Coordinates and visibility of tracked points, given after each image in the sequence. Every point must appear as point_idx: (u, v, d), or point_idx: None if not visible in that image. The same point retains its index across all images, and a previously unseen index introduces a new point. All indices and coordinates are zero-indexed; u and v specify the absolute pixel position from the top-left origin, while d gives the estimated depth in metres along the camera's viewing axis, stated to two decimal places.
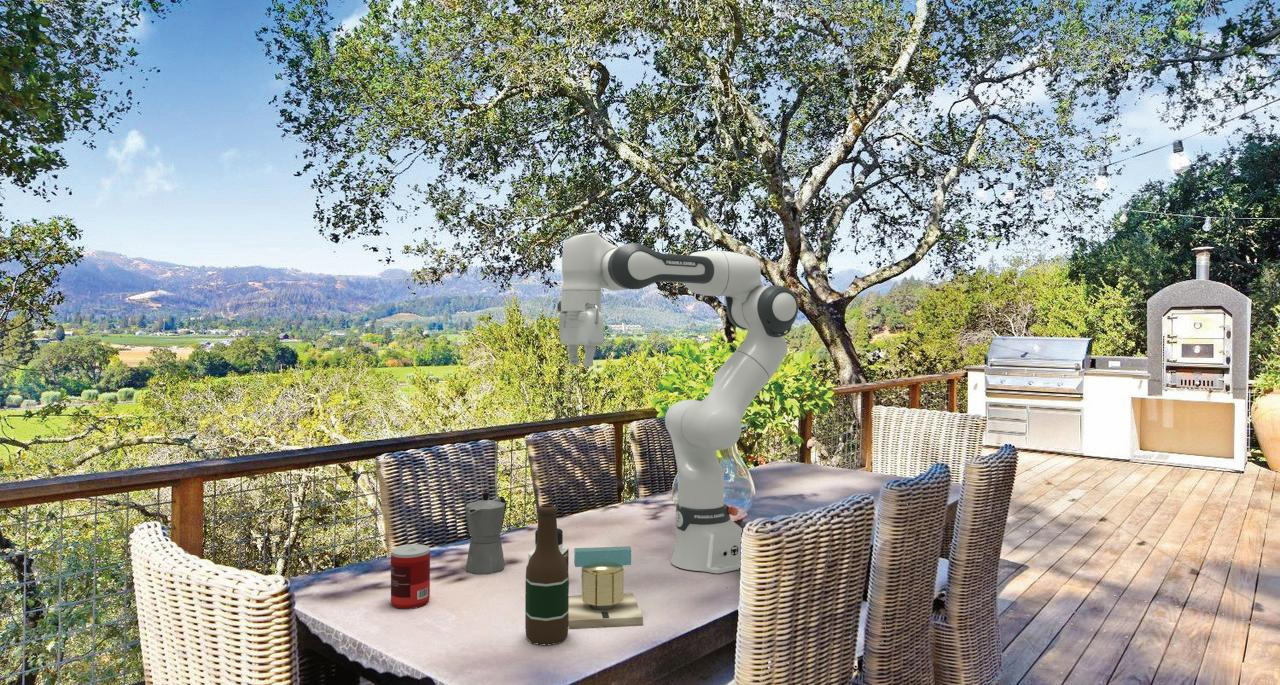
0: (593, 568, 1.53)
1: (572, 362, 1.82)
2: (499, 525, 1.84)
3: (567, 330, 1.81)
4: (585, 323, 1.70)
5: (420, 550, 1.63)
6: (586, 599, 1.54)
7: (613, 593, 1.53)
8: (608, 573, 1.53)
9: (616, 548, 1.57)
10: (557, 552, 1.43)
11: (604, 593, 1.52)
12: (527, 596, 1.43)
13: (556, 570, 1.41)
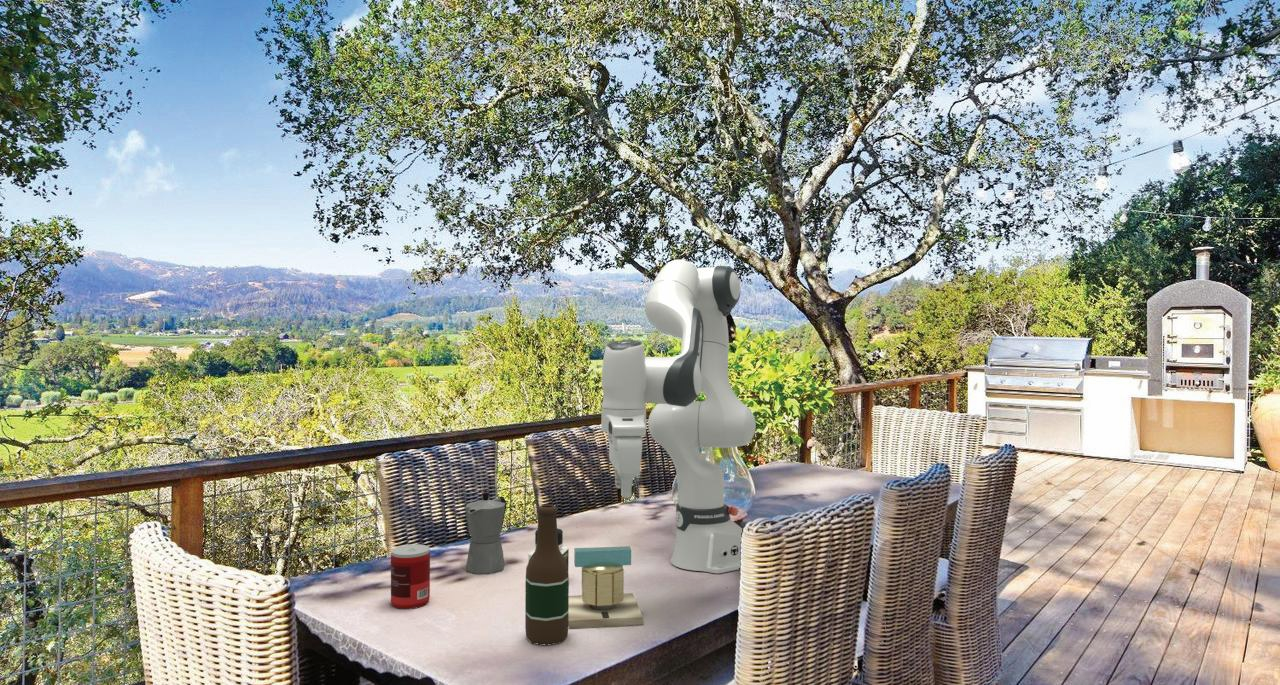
0: (593, 568, 1.53)
1: None
2: (499, 525, 1.84)
3: None
4: None
5: (420, 550, 1.63)
6: (586, 599, 1.54)
7: (613, 593, 1.53)
8: (608, 573, 1.53)
9: (616, 548, 1.57)
10: (557, 552, 1.43)
11: (604, 593, 1.52)
12: (527, 596, 1.43)
13: (556, 570, 1.41)
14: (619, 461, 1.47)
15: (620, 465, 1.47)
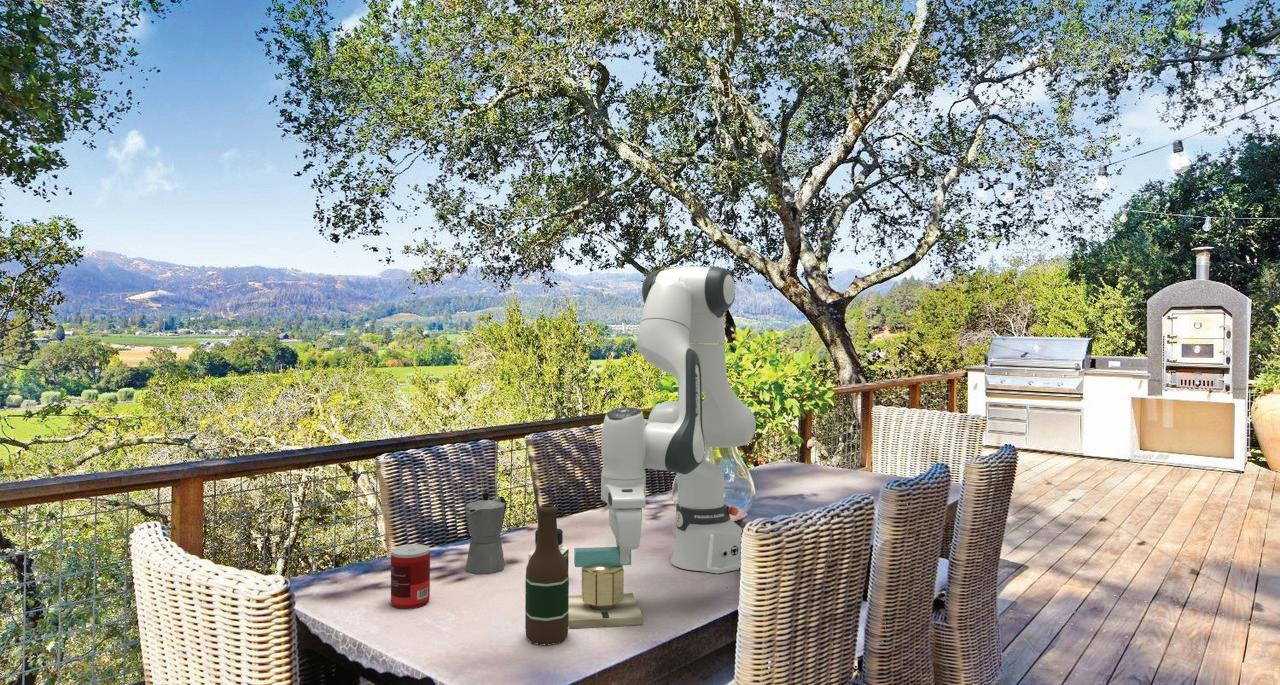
0: (593, 568, 1.53)
1: None
2: (499, 525, 1.84)
3: None
4: None
5: (420, 550, 1.63)
6: (586, 599, 1.54)
7: (613, 593, 1.53)
8: (608, 573, 1.53)
9: (616, 548, 1.57)
10: (557, 552, 1.43)
11: (604, 593, 1.52)
12: (527, 596, 1.43)
13: (556, 570, 1.41)
14: (619, 534, 1.47)
15: (620, 538, 1.47)
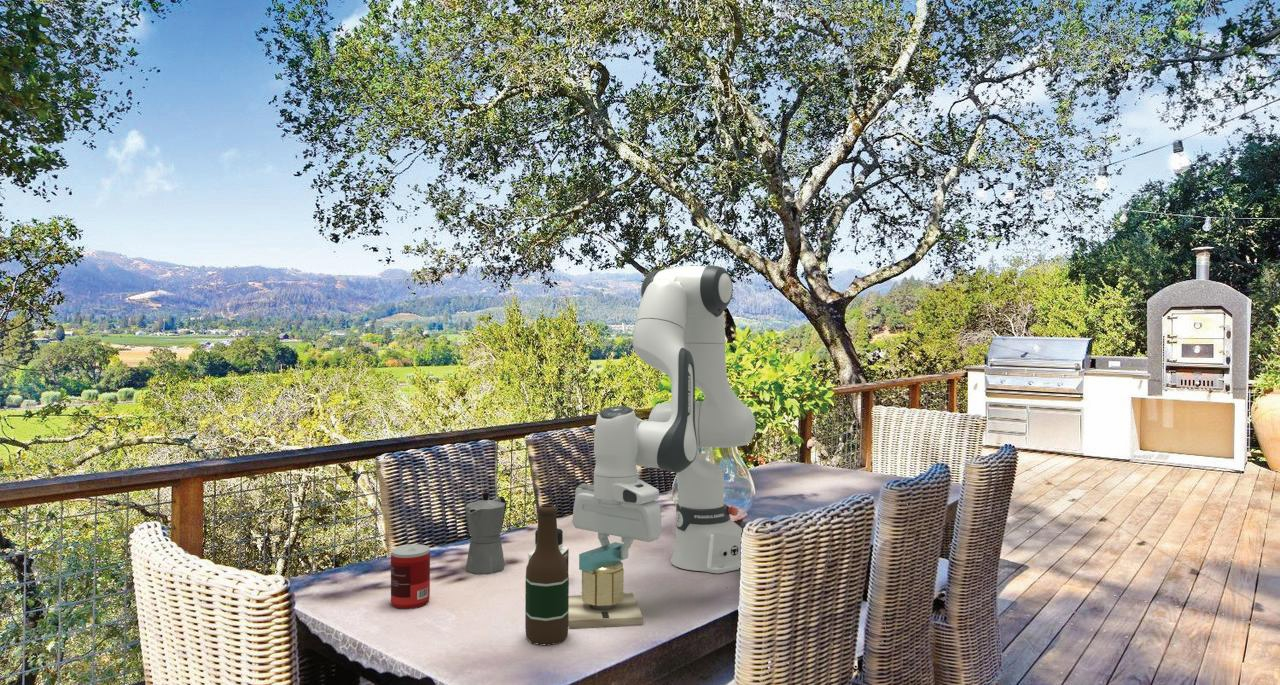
0: (606, 569, 1.53)
1: None
2: (499, 525, 1.84)
3: None
4: None
5: (420, 550, 1.63)
6: (599, 601, 1.52)
7: None
8: (620, 570, 1.54)
9: (611, 546, 1.58)
10: (557, 552, 1.43)
11: (618, 591, 1.54)
12: (527, 596, 1.43)
13: (556, 570, 1.41)
14: (649, 527, 1.52)
15: (650, 531, 1.52)
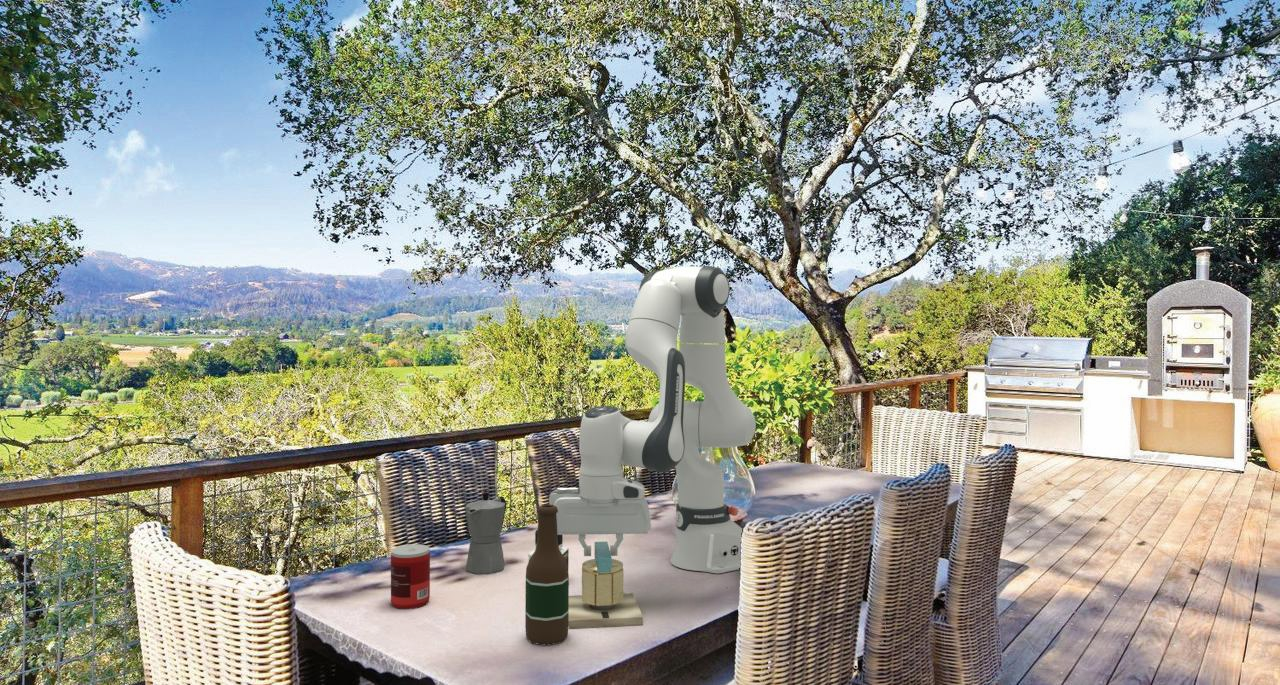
0: (617, 566, 1.55)
1: (610, 551, 1.61)
2: (499, 525, 1.84)
3: None
4: None
5: (420, 550, 1.63)
6: (615, 600, 1.53)
7: None
8: None
9: (601, 545, 1.59)
10: (557, 551, 1.43)
11: None
12: (527, 596, 1.43)
13: (556, 570, 1.41)
14: (649, 519, 1.59)
15: (650, 522, 1.59)
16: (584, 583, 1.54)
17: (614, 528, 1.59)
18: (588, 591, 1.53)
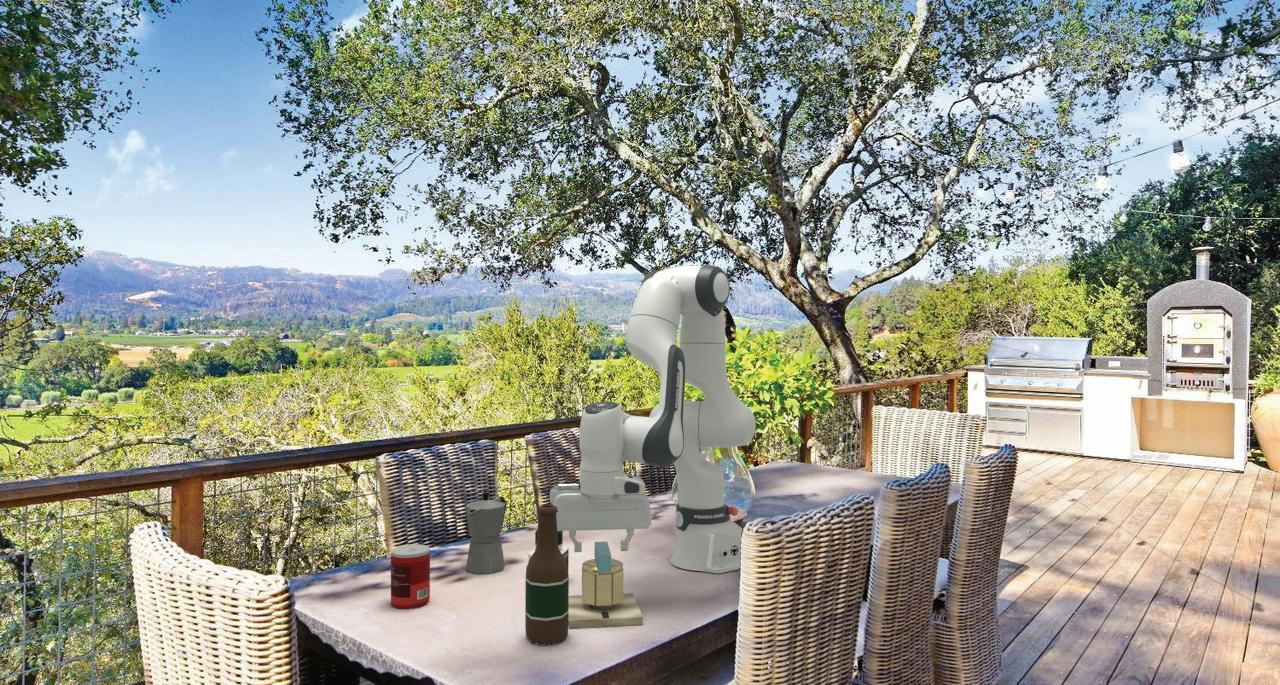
0: (617, 566, 1.55)
1: (621, 546, 1.62)
2: (499, 525, 1.84)
3: None
4: None
5: (420, 550, 1.63)
6: (615, 600, 1.53)
7: None
8: None
9: (601, 545, 1.59)
10: (557, 552, 1.43)
11: None
12: (527, 596, 1.43)
13: (556, 570, 1.41)
14: (650, 514, 1.59)
15: (650, 517, 1.60)
16: (584, 583, 1.54)
17: (615, 523, 1.59)
18: (588, 591, 1.53)
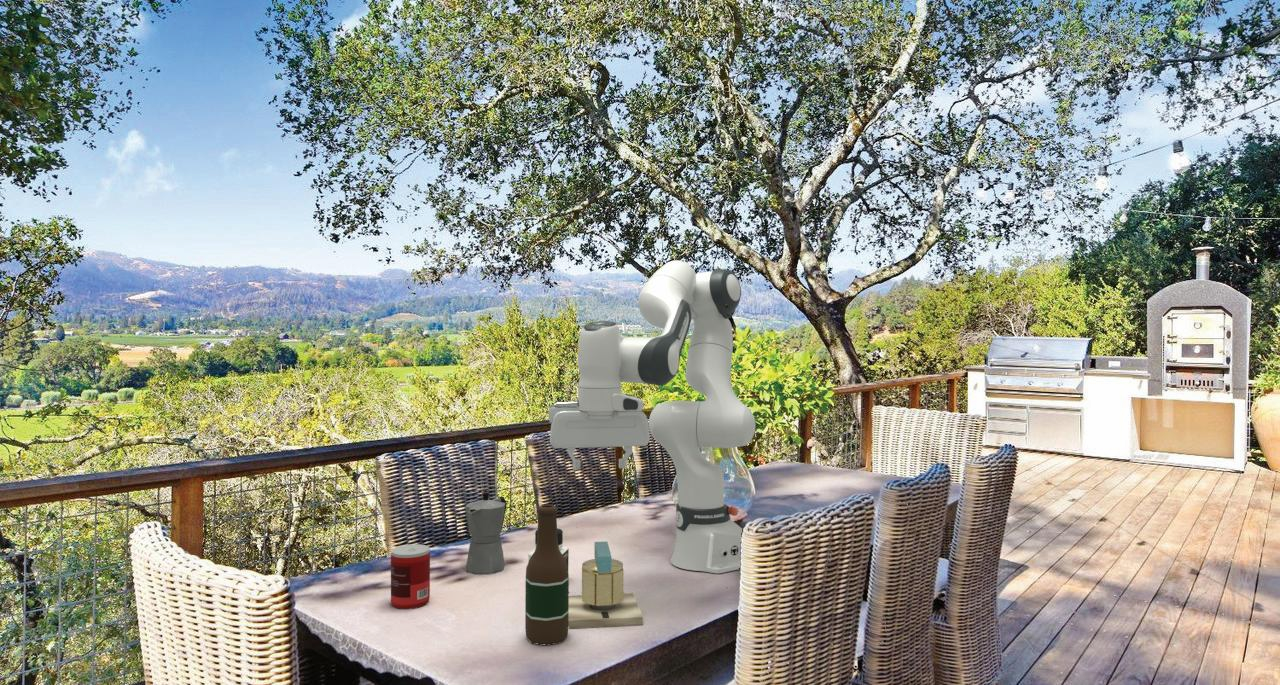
0: (617, 566, 1.55)
1: (619, 464, 1.63)
2: (499, 525, 1.84)
3: None
4: None
5: (420, 550, 1.63)
6: (615, 600, 1.53)
7: None
8: None
9: (601, 545, 1.59)
10: (557, 552, 1.43)
11: None
12: (527, 596, 1.43)
13: (556, 570, 1.41)
14: (648, 431, 1.61)
15: None
16: (584, 583, 1.54)
17: (613, 441, 1.60)
18: (588, 591, 1.53)
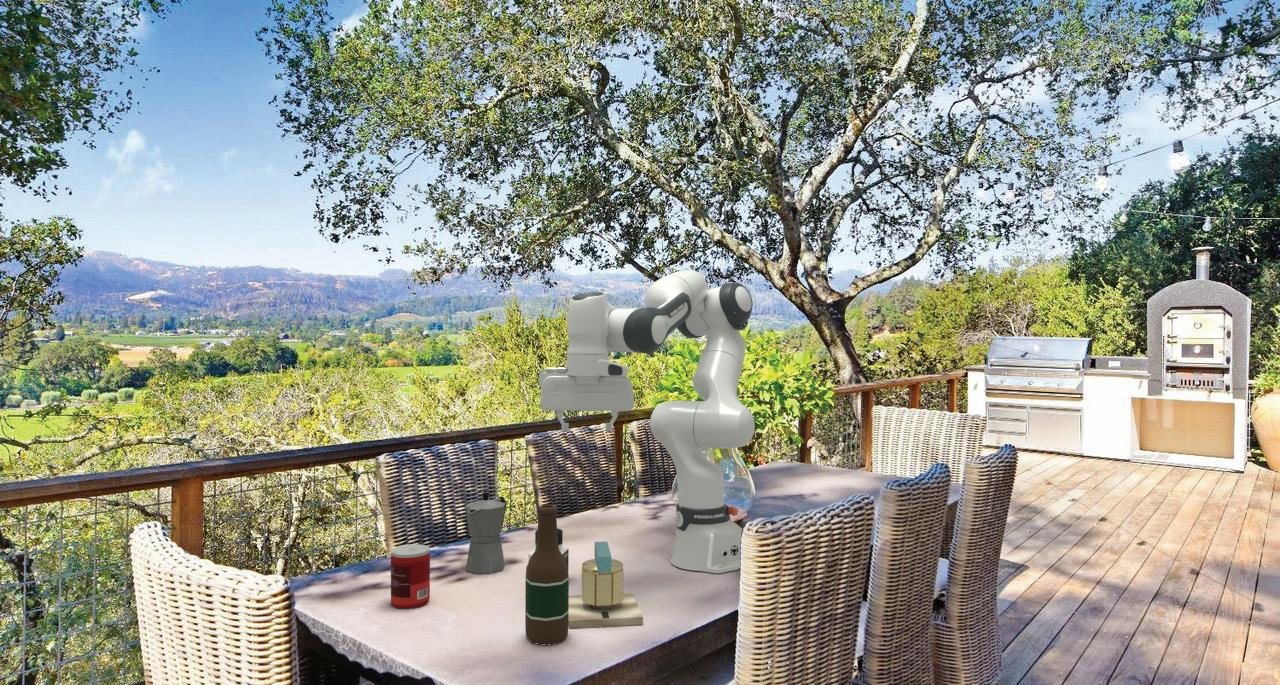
0: (617, 566, 1.55)
1: None
2: (499, 525, 1.84)
3: None
4: None
5: (420, 550, 1.63)
6: (615, 600, 1.53)
7: None
8: None
9: (601, 545, 1.59)
10: (557, 552, 1.43)
11: None
12: (527, 596, 1.43)
13: (556, 570, 1.41)
14: (632, 396, 1.69)
15: (633, 400, 1.69)
16: (584, 583, 1.54)
17: (599, 405, 1.69)
18: (588, 591, 1.53)
